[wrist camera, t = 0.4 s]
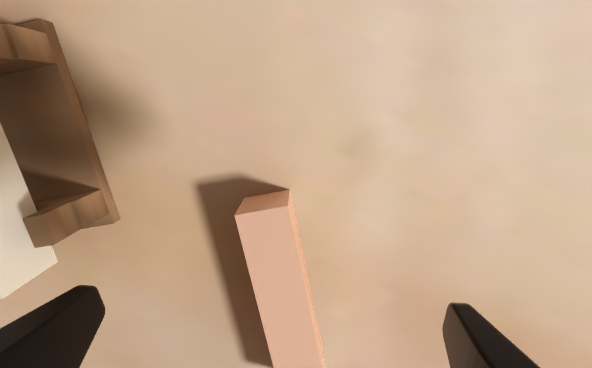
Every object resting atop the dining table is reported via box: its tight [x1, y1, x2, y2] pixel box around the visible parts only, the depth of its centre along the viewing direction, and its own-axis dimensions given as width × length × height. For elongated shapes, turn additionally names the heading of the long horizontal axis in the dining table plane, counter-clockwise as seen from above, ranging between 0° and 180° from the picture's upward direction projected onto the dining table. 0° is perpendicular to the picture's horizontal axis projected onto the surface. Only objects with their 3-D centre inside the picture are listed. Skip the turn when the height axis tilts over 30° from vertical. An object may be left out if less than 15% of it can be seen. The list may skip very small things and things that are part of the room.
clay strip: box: [234, 190, 326, 368], centre depth 21 cm, size 14×3×4 cm, turn 11°
